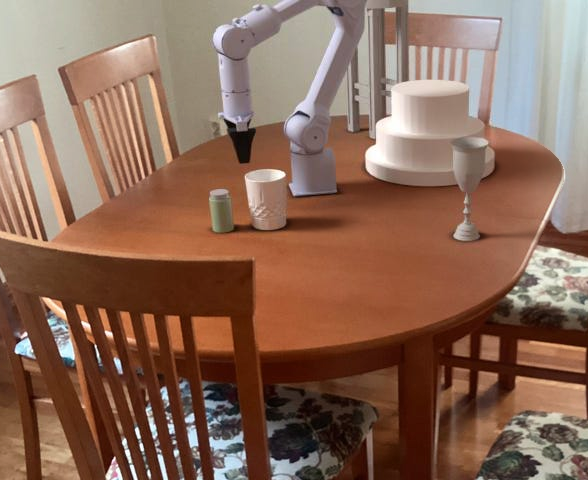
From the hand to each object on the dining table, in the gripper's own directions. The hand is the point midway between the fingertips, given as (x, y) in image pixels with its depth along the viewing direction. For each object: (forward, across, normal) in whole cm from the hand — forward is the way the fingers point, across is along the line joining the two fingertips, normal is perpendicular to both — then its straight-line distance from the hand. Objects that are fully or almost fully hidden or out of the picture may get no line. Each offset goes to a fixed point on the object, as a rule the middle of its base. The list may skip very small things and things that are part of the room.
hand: (242, 157), depth 190 cm
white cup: (+10, +15, +3) cm, 18 cm away
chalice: (+10, +31, +39) cm, 51 cm away
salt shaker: (+9, +15, -6) cm, 19 cm away
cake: (+10, -14, +44) cm, 47 cm away
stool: (+10, -47, +39) cm, 62 cm away
